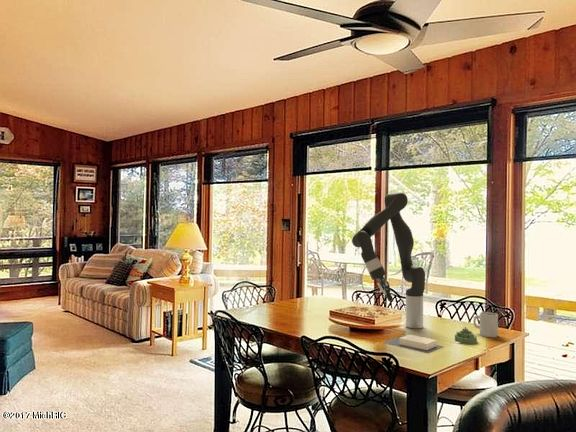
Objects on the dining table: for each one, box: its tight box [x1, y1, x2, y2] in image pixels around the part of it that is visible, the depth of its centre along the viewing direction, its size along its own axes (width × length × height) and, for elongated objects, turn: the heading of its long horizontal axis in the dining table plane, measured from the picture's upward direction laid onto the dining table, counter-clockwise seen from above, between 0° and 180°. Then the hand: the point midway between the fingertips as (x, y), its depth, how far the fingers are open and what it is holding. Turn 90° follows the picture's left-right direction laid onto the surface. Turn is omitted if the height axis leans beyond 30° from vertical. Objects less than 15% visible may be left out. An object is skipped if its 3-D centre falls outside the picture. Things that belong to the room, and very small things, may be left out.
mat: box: [382, 336, 445, 354], centre depth 216 cm, size 24×15×1 cm, turn 45°
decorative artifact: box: [454, 326, 478, 345], centre depth 224 cm, size 10×7×10 cm
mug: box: [473, 311, 499, 338], centre depth 236 cm, size 12×8×11 cm
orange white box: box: [399, 334, 438, 351], centre depth 214 cm, size 3×9×14 cm
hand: (391, 300), depth 228 cm, fingers closed
